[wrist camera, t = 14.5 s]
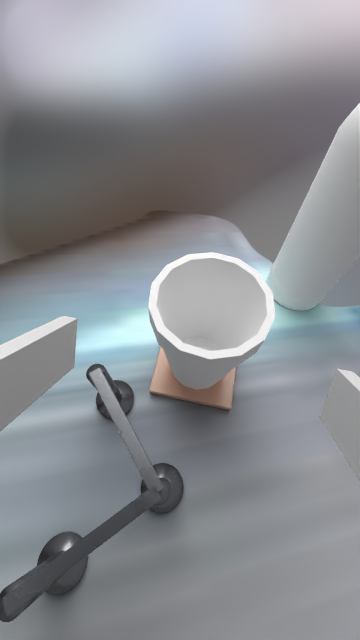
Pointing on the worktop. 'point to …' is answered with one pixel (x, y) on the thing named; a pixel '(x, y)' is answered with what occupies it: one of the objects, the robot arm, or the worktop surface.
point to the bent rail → (72, 551)
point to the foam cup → (209, 316)
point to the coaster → (171, 387)
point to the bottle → (323, 227)
